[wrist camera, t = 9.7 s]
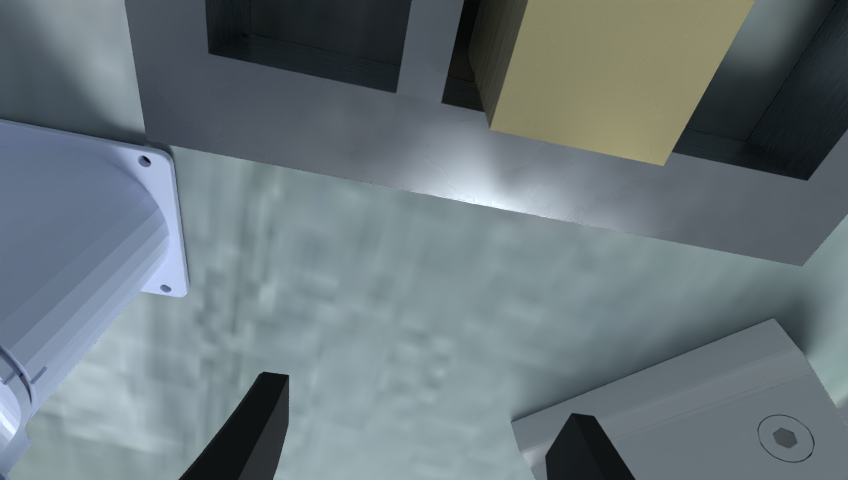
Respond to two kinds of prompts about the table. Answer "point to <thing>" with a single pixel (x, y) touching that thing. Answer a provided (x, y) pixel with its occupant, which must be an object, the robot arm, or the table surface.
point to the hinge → (711, 415)
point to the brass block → (600, 69)
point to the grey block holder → (491, 131)
